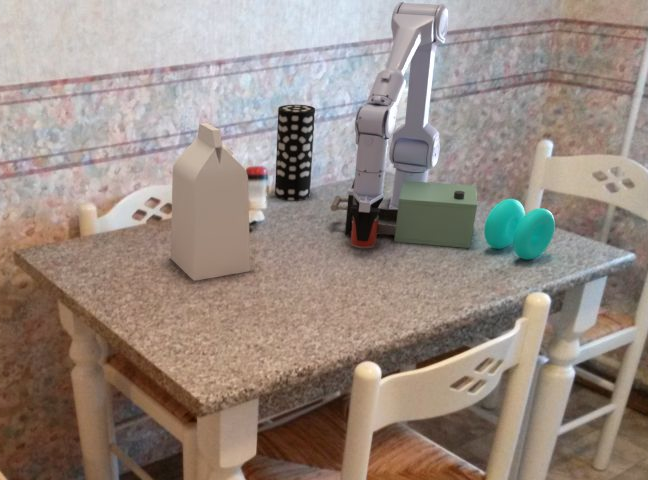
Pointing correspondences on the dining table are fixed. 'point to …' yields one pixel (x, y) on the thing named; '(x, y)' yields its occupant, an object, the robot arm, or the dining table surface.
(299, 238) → the dining table surface
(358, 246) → the can
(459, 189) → the green box with knob
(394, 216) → the open drawer with handle
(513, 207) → the turquoise yo-yo
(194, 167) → the milk
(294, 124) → the spotted tube
